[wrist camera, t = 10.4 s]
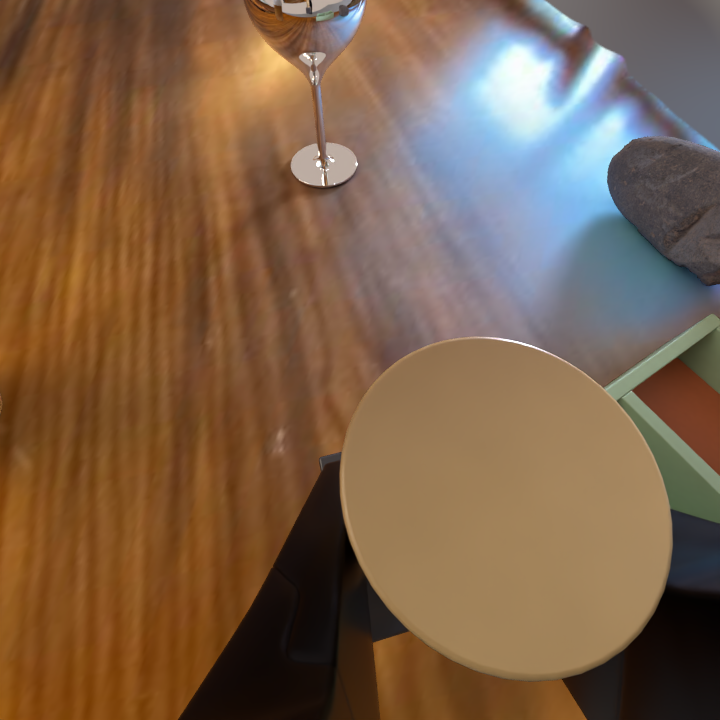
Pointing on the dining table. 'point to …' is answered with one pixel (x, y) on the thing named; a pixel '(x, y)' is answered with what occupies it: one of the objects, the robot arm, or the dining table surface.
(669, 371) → the divided tray
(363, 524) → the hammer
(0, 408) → the disposable coffee cup
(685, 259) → the perforated stone tool
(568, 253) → the dining table surface
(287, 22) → the wineglass
